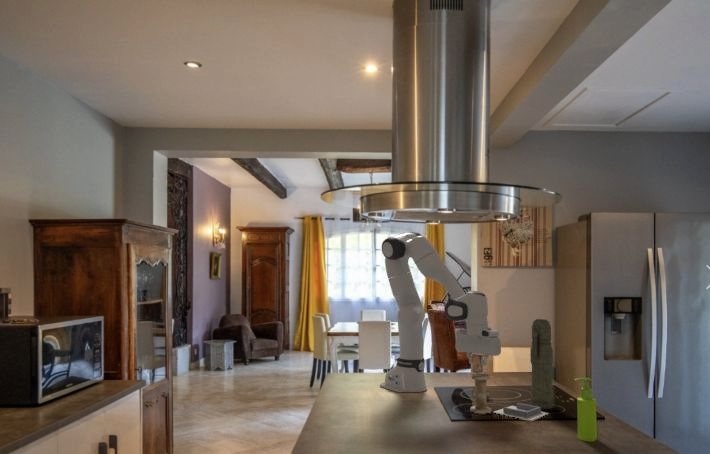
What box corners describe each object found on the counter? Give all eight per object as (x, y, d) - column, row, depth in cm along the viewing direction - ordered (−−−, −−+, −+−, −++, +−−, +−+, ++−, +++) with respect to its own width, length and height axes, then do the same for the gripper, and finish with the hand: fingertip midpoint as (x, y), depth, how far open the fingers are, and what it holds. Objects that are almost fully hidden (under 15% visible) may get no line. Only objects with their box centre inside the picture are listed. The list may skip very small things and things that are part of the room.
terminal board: (493, 413, 229) (493, 406, 229) (511, 407, 239) (511, 400, 239) (531, 421, 218) (531, 414, 218) (549, 414, 227) (548, 407, 228)
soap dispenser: (571, 436, 200) (571, 376, 201) (591, 435, 200) (590, 376, 201) (579, 441, 194) (578, 380, 195) (600, 441, 194) (598, 380, 195)
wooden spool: (466, 411, 232) (466, 375, 232) (477, 407, 237) (477, 372, 238) (484, 415, 226) (483, 378, 227) (495, 411, 232) (494, 375, 232)
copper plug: (470, 371, 244) (469, 354, 244) (476, 370, 247) (475, 353, 247) (479, 373, 240) (479, 356, 241) (485, 371, 244) (485, 354, 244)
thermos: (526, 407, 238) (525, 320, 240) (536, 401, 248) (535, 318, 249) (548, 411, 233) (547, 321, 235) (557, 405, 242) (556, 319, 244)
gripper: (452, 329, 250) (452, 362, 249) (494, 333, 235) (494, 368, 234) (460, 327, 254) (461, 360, 253) (502, 332, 240) (503, 366, 239)
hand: (477, 364), depth 244 cm, fingers closed on copper plug, 4 cm apart
